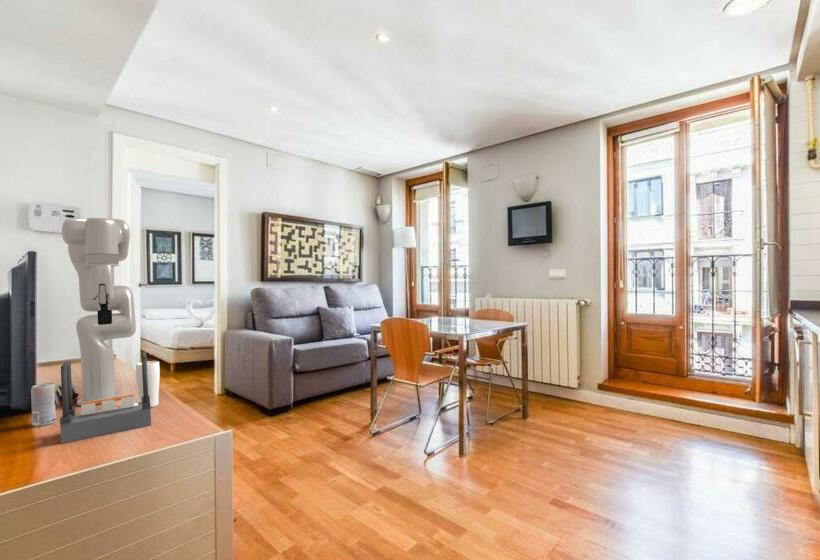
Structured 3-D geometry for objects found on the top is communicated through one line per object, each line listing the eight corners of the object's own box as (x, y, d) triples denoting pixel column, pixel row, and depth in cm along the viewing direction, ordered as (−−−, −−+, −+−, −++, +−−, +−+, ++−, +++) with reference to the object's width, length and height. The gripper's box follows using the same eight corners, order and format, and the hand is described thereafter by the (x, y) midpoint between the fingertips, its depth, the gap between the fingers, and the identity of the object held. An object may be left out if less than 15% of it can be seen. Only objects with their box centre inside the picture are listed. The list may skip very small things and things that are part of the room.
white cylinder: (135, 411, 130) (133, 365, 130) (140, 405, 137) (138, 362, 137) (159, 407, 133) (157, 363, 133) (162, 402, 139) (161, 360, 139)
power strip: (66, 432, 113) (66, 415, 113) (150, 416, 124) (149, 400, 124) (61, 443, 105) (60, 425, 105) (151, 425, 116) (150, 408, 116)
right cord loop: (142, 401, 123) (140, 351, 123) (149, 400, 124) (147, 351, 124) (142, 410, 115) (140, 356, 115) (150, 408, 116) (148, 355, 116)
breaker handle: (77, 416, 111) (77, 402, 111) (138, 405, 119) (137, 393, 119) (77, 417, 110) (76, 404, 110) (138, 406, 118) (137, 394, 118)
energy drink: (53, 419, 125) (51, 382, 125) (58, 422, 122) (56, 384, 122) (30, 425, 121) (28, 386, 121) (34, 428, 117) (33, 388, 117)
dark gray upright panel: (66, 414, 113) (64, 360, 113) (75, 413, 114) (73, 359, 114) (60, 425, 104) (57, 366, 104) (70, 423, 106) (67, 365, 106)
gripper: (88, 262, 118) (91, 323, 118) (82, 259, 106) (85, 327, 106) (119, 262, 123) (122, 321, 123) (117, 259, 110) (120, 324, 110)
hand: (105, 324), depth 114 cm, fingers closed
